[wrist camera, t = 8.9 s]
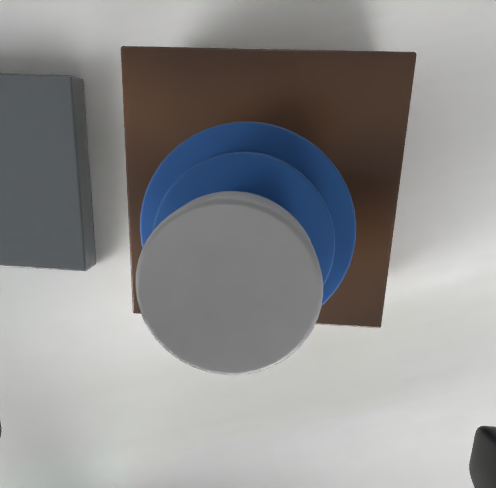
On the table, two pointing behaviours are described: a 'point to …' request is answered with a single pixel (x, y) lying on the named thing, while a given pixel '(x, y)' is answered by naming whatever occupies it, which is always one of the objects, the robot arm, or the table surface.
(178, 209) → the blue bottle
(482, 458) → the robot arm
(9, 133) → the slate tile
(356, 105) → the walnut block
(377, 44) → the table surface
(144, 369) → the table surface
